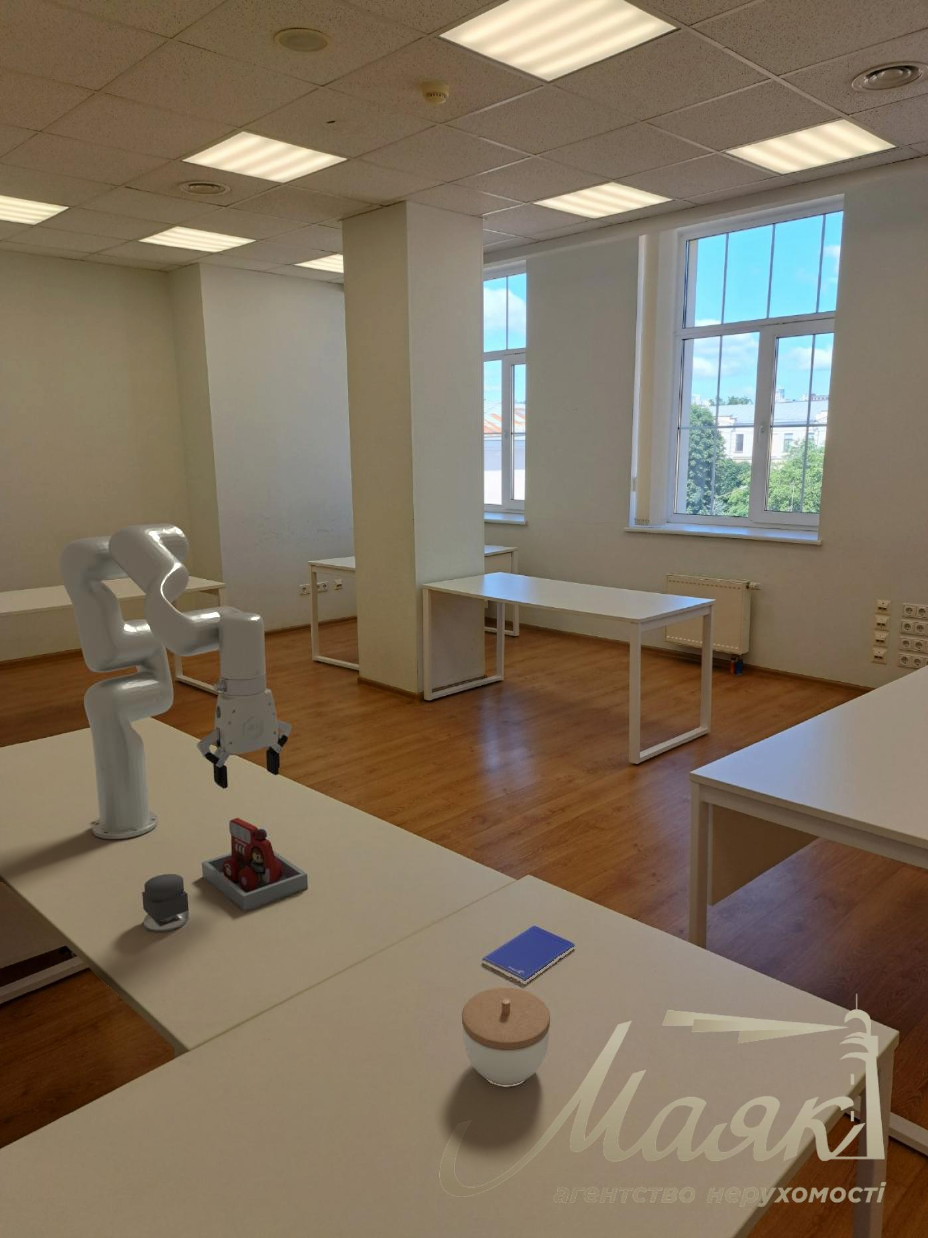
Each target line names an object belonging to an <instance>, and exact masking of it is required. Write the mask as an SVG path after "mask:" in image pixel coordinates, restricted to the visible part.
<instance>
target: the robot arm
mask: <svg viewBox="0 0 928 1238" xmlns="http://www.w3.org/2000/svg"><path fill="white" fill-rule="evenodd" d="M189 546H190V545H189V541H188V538H187V537H186V534H185V533H184V532H183V531H182V529H181V528H179V527H178V526H176V525H173V524H171V523H167V522H166V523H165V522H164V523H151V524H149V523H148V524H136V525H135V524H134V525H128V526H125V527H121V528H120V529H118V530H116V531H115V532H114V533H113V534H112V535H103V536H102V535H101V536H90V537H84V538H80V539H79V538H78V539H76V540H73V541H70V542H69V543H68V544H66V545H65V546H64V547H63V549H62V550H61V552H60V554H59V555H60V556H59V562H58V566H59V568H58V569H59V574H60V579H61V582H62V584H63V587H64V589H65V591H66V593H67V595H68V597H69V600H70V602H71V604H72V608H73V611H74V616H75V621H76V626H77V632H78V637H79V641H80V646H81V652H82V655H83V660H84V662H85V665H86V666H87V668H88V669H89V670H90V671H91V672H93V673H109V672H115V671H119V670H124V669H129V668H134V667H136V670H137V671H136V672H135V673H130V674H126V675H125V674H124V675H120V676H115V677H111V678H106V679H103V680H101V681H98V682H95V683H94V684H93V685H91V686H90V687H89V688H88V689H87V690H86V692H85V693H84V697H83V705H84V709H85V715H86V717H87V720H88V724H89V729H90V732H91V740H92V744H93V745H92V746H93V757H94V765H95V767H94V768H95V778H96V790H97V801H98V812H99V813H98V814H99V819H97V820H95V822H94V823H93V824H92V827H91V828H92V834H93V835H94V836H95V837H98V838H100V839H104V840H105V839H106V840H122V839H129V838H133V837H137V836H140V835H143V834H146V833H148V832H150V831H151V830H154V828H155V827H156V826H157V825H158V822H159V819H158V815H157V814H156V813H155V812H153V811H150V807H149V793H148V792H149V791H148V780H147V778H148V777H147V768H146V767H147V766H146V765H147V764H146V753H145V751H146V750H145V743H144V741H143V738H142V736H141V735H140V734H139V732H138V731H136V730H135V729H134V728H133V726H132V723H134V722H137V721H139V720H144V719H147V718H151V717H155V716H158V715H161V714H164V713H166V712H168V711H169V709H170V708H171V707H172V705H173V702H174V687H173V686H174V685H173V681H172V680H173V679H172V674H171V669H170V663H169V660H168V654H167V650H168V651H170V652H171V653H172V654H174V655H177V656H180V657H192V656H196V655H202V654H206V653H211V652H217V651H219V666H220V667H219V669H220V672H219V673H220V676H219V681H218V682H215V683H213V690H214V691H215V692H218V691H219V692H220V693H218V696H217V700H216V705H215V712H214V713H215V714H214V729H213V731H212V732H210V733H209V734H208V735H206V736H205V737H204V738H202V739H201V740H200V741H199V742H197V744H196V747H197V749H198V750H199V752H200V753H201V755H202V757H203V758H205V759H206V760H207V761H209V762H210V763H212V767H213V780H214V782H215V783H216V785H217V786H218V787H220V788H222V789H227V788H228V786H229V784H228V779H229V778H228V767H227V765H225V763H226V762H227V760H228V758H229V757H230V756H237V755H241V754H246V753H250V752H254V751H258V750H263V749H266V748H267V749H266V752H265V754H266V756H265V757H266V760H265V761H266V770H267V773H268V772H269V773H270V774H272V775H274V776H278V775H279V774H280V773H279V772H280V771H279V768H280V767H281V763H280V761H281V759H280V757H281V756H280V753H282V751H283V747H284V746H285V744H287V742H288V740H289V736H290V733H291V732H292V729H293V726H292V724H290V723H289V722H286V721H283V720H280V719H278V717H277V709H276V705H275V700H274V696H273V693H272V690H271V689H269V688H267V672H266V671H267V670H266V669H267V668H266V647H265V646H266V644H265V624H264V619H263V618H262V616H261V615H260V614H257V613H254V612H245V611H244V612H243V611H241V610H240V609H238V608H236V607H233V606H229V605H228V606H227V605H222V606H215V607H210V608H203V609H202V608H201V609H196V610H195V609H194V610H189V611H185V612H181V611H179V610H178V609H176V608H175V606H173V604H172V603H173V602H174V601H175V600H176V599H178V598H179V597H180V596H181V595H182V594H183V593H184V592H185V590H186V589H187V586H188V585H189V581H190V573H189V570H188V568H187V567H186V566H185V565H184V564H183V563H184V562H185V561H186V560H187V559H188V555H189V552H190V547H189ZM123 578H130V579H131V580H132V582H134V584H136V586H137V587H138V588H139V589H140V590H141V591H142V592H143V593H144V594H145V598H144V603H143V610H144V616H145V619H144V618H143V619H142V618H138V619H131V620H124V619H123V618H124V617H123V614H122V609H121V604H120V601H119V598H118V596H117V595H116V594H115V593H114V591H113V590H112V589H111V588H110V587H109V586H108V585H106V584H105V582H102V581H104V580H114V579H123ZM279 729H280V731H279ZM279 732H280V733H279ZM214 743H215V747H216V749H215V751H214V753H212V752H211V750H210V746H212V745H213V744H214Z"/></svg>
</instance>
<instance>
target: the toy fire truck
mask: <svg viewBox="0 0 928 1238" xmlns="http://www.w3.org/2000/svg"><path fill="white" fill-rule="evenodd" d="M228 823H229V829H228V831H229V833H230V842H231V843H230V844H231V845H230V847H231V849H230V850H231V851H230V853H231V854H232V858H231V859H228V860H226V861H224V863H223V866H222V869H223V874H224V876H225V877H226V878H228V879H229V880H230V881H231V882H235V881H238V880H239V884H240V886H241V888H242V889H243V890H244V891H245V892H251V891H253V890H255V889H256V888H257V884H258V883H259V882H261V881H263V882H265V883H267V884H272V883H275V882H276V881H277V880H278V879H280V878H281V877H282V866H281V864H280V862H279V861H278V860H277V859H276V858H275V855H274V852H273V851H274V849H273V846H272V843H271V841H270V840H269V839H267V838H268V833H267V831H266V829H263V828H259V827H257V826H255V825H253V824H251V823H249V822H248V821H245V820H243V819H241V818H239V817H235V818H233V819H231V820H230V821H229V822H228Z"/></svg>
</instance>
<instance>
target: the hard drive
mask: <svg viewBox="0 0 928 1238" xmlns="http://www.w3.org/2000/svg"><path fill="white" fill-rule="evenodd" d="M574 946H575V947H576V944H575V943H573V942H572V941H570V940H568V939H566V938H564V937H561V936H558V935H556V934H554V933H552V932H551V931H548V930H545V929H543V928H541V927H538V926H537V925H532V926H531V927H529V928H528V929H527V930H525V931H523V932H521V933H520V934H518V935H517V936H515V937H514V938H511V939H510V940H509V941H507V942H506V943H504V944H503V945H501V946H499V947H498V948H496V949H495V950H493V951H491V952H490V953H489V954H486V955H485V956H483V958H481V959H482V960H481V962H482V961H485V962H486V963H489V964H491V965H493V966H495V967H497V968H499V969H501V970H503V971H505V972H507V973H510V974H511V975H514V976H516V977H518V978H519V979H522V980H523V981H526V980H527V979H529V978H530V977H532V976H533V975H535V973H537V972H538V971H540V970H541V969H543V968H544V967H546V966H547V965H548V964H549V963H551V962H552V961H554V959H556V958H557V957H558V956H560V955H562V954H563V953H565V952H566V951H568V950H569V949H570V948H572V947H574Z"/></svg>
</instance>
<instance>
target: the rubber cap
mask: <svg viewBox="0 0 928 1238" xmlns="http://www.w3.org/2000/svg"><path fill="white" fill-rule="evenodd" d="M184 884H185V883H184V877H183V876H181V875H179V874H174V873H167V874H165V873H164V874H160V875H156V876H153V877H151V878H149V879H148V880H147V881H145V883H144V891H141V896H142V906H143V907H142V909H143V910H144V911H145V913H146V914H149V915H150V917H151V918H152V919H153V920H154V921H155V922H158V921H161V920H164V919H166V918H169V917H172V916H175V915H178V914H181V913H183V912H186V911H189V899H188V898H189V897H188V896H189V895H188V893H187V891H185V888H184V887H185V885H184Z"/></svg>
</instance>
